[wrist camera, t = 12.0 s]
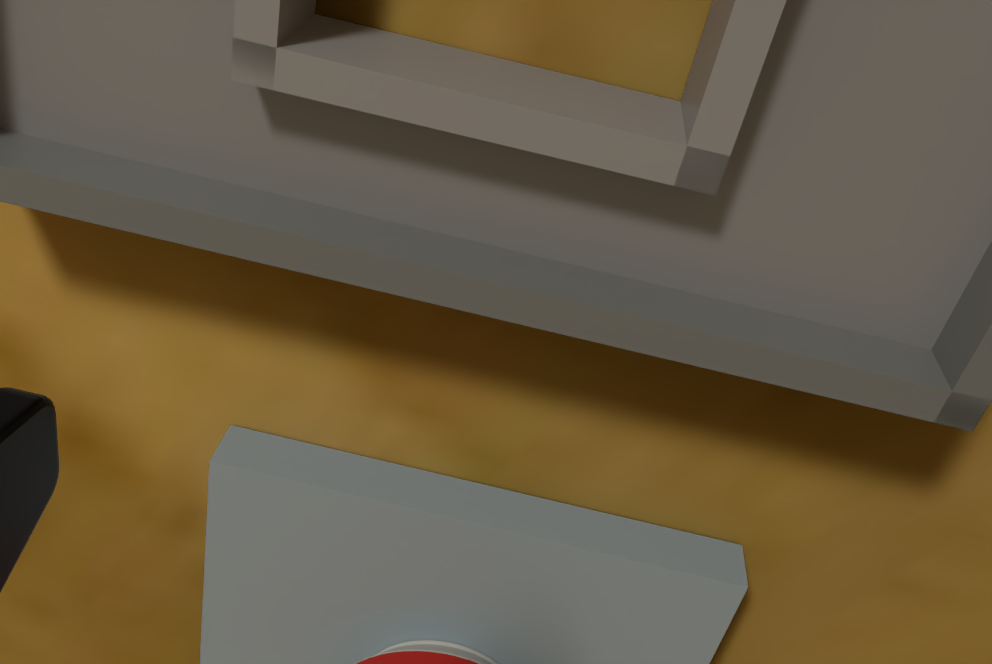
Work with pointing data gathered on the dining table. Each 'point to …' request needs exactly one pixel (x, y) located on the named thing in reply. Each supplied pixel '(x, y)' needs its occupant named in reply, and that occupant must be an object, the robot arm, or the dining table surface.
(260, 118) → the grey tray
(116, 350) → the dining table surface
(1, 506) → the robot arm
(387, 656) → the beverage can
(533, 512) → the slate board
